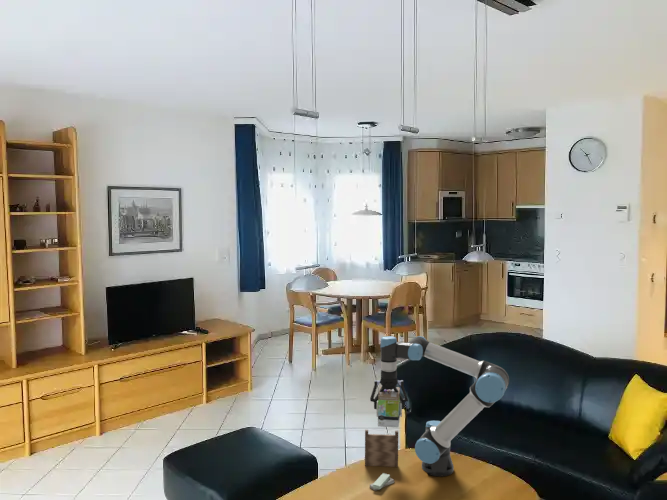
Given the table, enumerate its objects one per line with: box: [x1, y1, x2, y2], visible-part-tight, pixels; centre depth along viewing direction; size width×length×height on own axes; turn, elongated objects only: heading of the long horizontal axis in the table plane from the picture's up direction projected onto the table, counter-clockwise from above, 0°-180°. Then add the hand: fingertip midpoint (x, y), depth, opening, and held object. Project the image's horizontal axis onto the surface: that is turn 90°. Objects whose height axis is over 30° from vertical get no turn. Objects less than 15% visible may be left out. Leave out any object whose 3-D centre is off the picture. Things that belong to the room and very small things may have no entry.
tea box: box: [377, 386, 401, 428], centre depth 262 cm, size 15×10×15 cm, turn 171°
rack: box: [364, 429, 399, 468], centre depth 269 cm, size 16×2×18 cm, turn 85°
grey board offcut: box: [369, 477, 395, 491], centre depth 250 cm, size 12×4×2 cm, turn 129°
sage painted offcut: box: [372, 472, 391, 490], centre depth 250 cm, size 12×4×2 cm, turn 153°
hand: (389, 415), depth 262 cm, fingers closed on tea box, 10 cm apart
